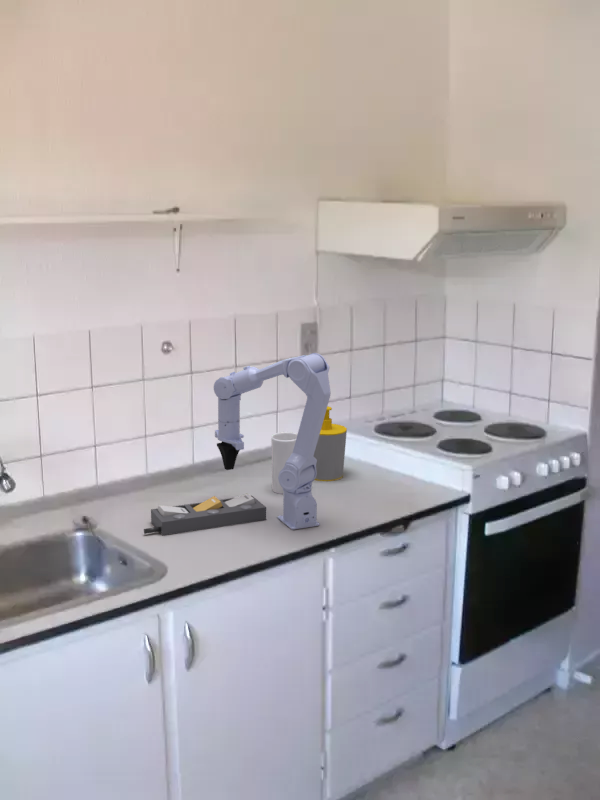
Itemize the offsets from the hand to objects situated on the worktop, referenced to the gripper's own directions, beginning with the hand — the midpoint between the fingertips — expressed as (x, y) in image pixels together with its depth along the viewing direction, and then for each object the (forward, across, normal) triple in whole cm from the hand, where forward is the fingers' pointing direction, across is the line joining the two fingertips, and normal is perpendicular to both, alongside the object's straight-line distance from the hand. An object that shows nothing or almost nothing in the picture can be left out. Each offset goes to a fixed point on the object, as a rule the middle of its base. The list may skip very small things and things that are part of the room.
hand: (229, 469), depth 242 cm
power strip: (+10, -8, +12) cm, 18 cm away
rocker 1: (+7, -6, +18) cm, 21 cm away
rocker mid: (+7, -7, +10) cm, 14 cm away
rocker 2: (+7, -7, 0) cm, 10 cm away
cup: (+10, +5, -20) cm, 23 cm away
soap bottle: (+11, +12, -37) cm, 40 cm away
